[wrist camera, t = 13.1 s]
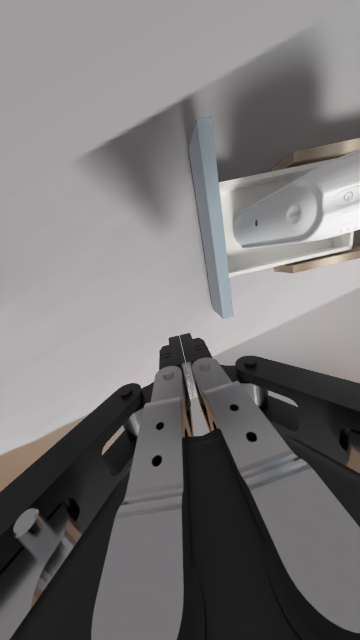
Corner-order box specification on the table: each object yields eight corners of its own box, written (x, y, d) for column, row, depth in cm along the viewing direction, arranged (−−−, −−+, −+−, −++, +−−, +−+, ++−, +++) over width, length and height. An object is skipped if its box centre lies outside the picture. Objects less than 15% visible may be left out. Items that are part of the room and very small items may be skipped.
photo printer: (235, 254, 21) (332, 247, 9) (228, 213, 20) (331, 146, 8) (318, 226, 21) (518, 186, 9) (317, 184, 20) (551, 74, 8)
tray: (338, 119, 19) (385, 83, 15) (327, 282, 24) (358, 286, 21) (188, 148, 18) (196, 118, 14) (212, 309, 24) (223, 318, 20)
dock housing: (403, 142, 20) (451, 119, 17) (386, 245, 24) (422, 243, 21) (271, 169, 20) (293, 151, 16) (274, 271, 23) (293, 273, 20)
